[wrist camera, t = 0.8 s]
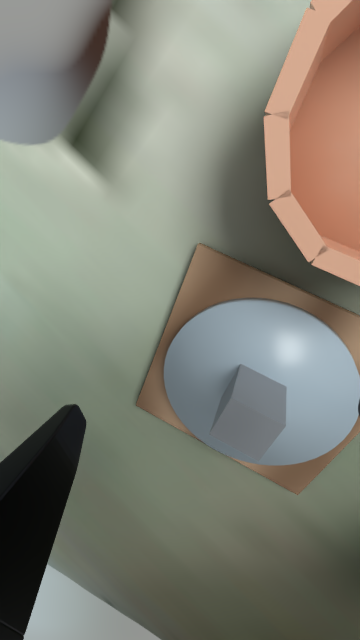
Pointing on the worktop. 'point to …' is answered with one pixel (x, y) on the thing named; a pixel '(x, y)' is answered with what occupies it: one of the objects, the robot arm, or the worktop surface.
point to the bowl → (319, 138)
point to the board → (232, 283)
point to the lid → (262, 381)
